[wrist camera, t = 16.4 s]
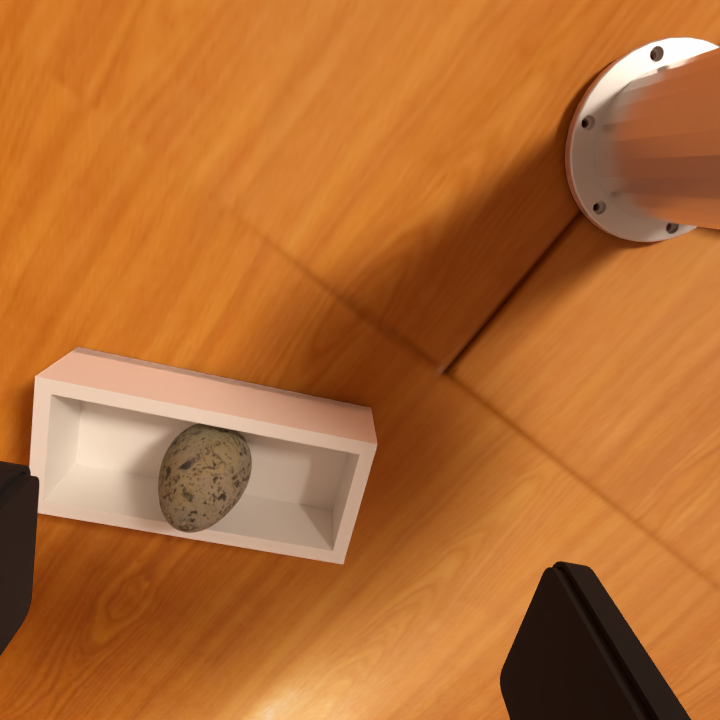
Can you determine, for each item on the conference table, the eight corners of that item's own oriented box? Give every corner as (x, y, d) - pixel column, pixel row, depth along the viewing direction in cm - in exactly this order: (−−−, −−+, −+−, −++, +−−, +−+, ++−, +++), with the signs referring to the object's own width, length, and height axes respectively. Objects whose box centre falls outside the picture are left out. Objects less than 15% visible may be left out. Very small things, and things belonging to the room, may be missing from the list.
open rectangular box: (371, 407, 42) (377, 444, 36) (341, 515, 45) (343, 564, 39) (77, 346, 39) (35, 376, 34) (67, 465, 42) (26, 510, 37)
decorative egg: (272, 432, 41) (255, 509, 32) (231, 488, 43) (203, 578, 33) (203, 391, 40) (164, 459, 30) (163, 451, 41) (114, 534, 32)
